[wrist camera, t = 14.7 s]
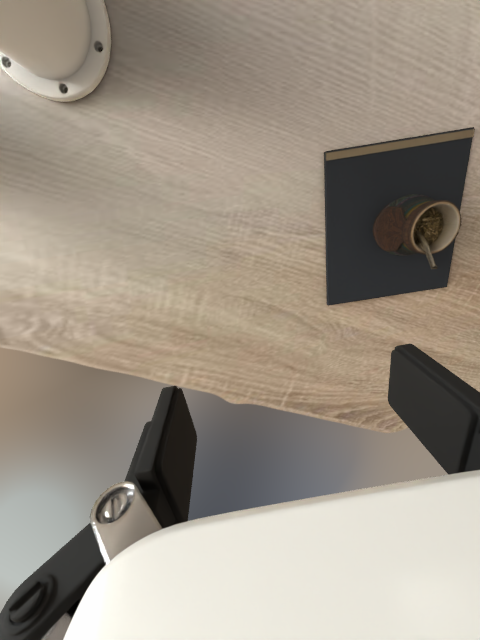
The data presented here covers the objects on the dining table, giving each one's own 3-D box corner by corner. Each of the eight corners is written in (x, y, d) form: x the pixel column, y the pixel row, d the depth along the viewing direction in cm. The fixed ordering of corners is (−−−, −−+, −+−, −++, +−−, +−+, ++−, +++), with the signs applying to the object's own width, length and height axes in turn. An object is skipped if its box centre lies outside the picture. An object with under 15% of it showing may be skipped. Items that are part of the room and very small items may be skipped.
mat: (324, 152, 32) (326, 151, 31) (470, 128, 32) (475, 126, 31) (326, 304, 40) (328, 305, 39) (443, 285, 39) (447, 287, 39)
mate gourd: (425, 194, 34) (500, 187, 24) (412, 253, 37) (475, 267, 27) (370, 196, 33) (425, 190, 24) (362, 255, 36) (408, 270, 27)
